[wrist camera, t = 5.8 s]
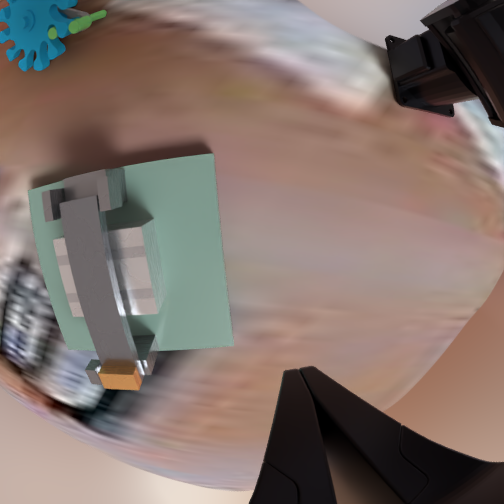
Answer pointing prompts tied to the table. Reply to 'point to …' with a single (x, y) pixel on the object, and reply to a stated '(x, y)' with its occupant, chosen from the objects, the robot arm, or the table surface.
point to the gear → (42, 28)
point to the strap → (100, 293)
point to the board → (170, 249)
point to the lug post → (146, 352)
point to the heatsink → (125, 268)
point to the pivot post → (87, 191)
